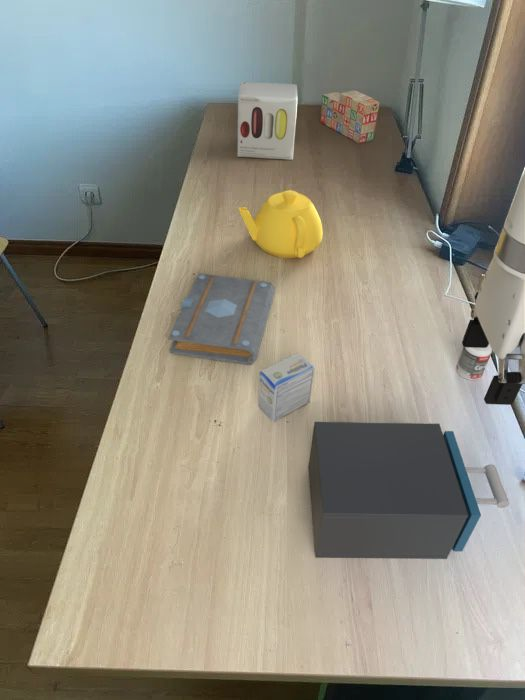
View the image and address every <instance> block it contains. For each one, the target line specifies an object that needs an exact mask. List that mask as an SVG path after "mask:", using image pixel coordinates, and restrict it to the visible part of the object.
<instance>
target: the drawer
mask: <svg viewBox="0 0 525 700" xmlns="http://www.w3.org/2000/svg"><path fill="white" fill-rule="evenodd" d="M443 437H444V440H445V443H446V446H447V449H448V453H449V456H450V459H451V462H452V465H453V468H454V472H455V475H456V478H457V481H458V484H459V488H460V491H461V494H462V497H463V500H464V503H465V507H466V510H467V513H468V517H467V519H466V521H465V523H464V525H463V527H462V529H461V531H460V533H459V535H458V537H457V539H456V541H455V543H454V545H453V547H452V551H453V552H463V551H464V548H465V547H466V545H467V543H468V542H469V539H470V538H471V535H472V534H473V532H474V530H475V528H476V526H477V524H478V522H479V520H480V518H481V517H482V514H481V511H480V508H479V505H496V507H497V508H500V509H505V508H507V507H509V506H510V501H509V497H508V495H507V493H506V490H505V488H504V485H503V482H502V480H501V478H500V474H499V472H498V469H497V466H496V465H495V464H493V463H489V464H486V465H485V466H483V467H482V466H480V467H479V466H478V467H477V466H476V467H475V466H473V467H472V466H465V463H464V459H463V457H462V454H461V450H460V447H459V444H458V442H457V439H456V435H455V433H454V431H453V430H444V432H443ZM468 474H485V477H486V480H487V483H488V485H489V489H490V490H491V493H492V494H491V495H492V496H493V498H491V497H489V498H488V497H476V495H475V493H474V490H473V486H472V484H471V481H470V478H469V475H468Z"/></svg>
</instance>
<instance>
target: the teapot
mask: <svg viewBox="0 0 525 700" xmlns="http://www.w3.org/2000/svg"><path fill="white" fill-rule="evenodd" d="M238 212H239V213H240V216H241V218H242V220H243V222H244V225H245V226H246V229H247V231H248V233H249V235H250V237H251V240H252V241H254V242H255V243H256V245H257V246H258V247H259V248H260V249H261V250H262V251H263V252H265V253H267V254H268V255H271V256H273V257H277V258H282V259H283V258H284V259H293V258H298V259H302V258H304V257H305V256H306V255H309V254H310V253H311V252H313V251H314V250H315V249H316V248H318V247H319V245H320V244H321V242H322V241H323V225H322V224H323V223H322V221H321V217H320V215H319V213H318V211H317V209H316V207H315V205H314V203H313V202H312V201H311V199H310V198H309V197H308V196H306V195H304V194H302V193H299V192H297V191H295V190H291V189H289V190H284V191H281V192H276V193H274V194H272V195H270V196H269V197H268V198H267V199H266V201H265V202H264V203H263V204H262V206H261V207H260V208H259V210H258V211H257V214H256V216H255V218H254V217H253V216H252V214H251V213H250V210H248V206H242V207H241V206H240V207H238Z"/></svg>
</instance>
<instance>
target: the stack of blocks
mask: <svg viewBox="0 0 525 700" xmlns="http://www.w3.org/2000/svg"><path fill="white" fill-rule="evenodd" d="M380 102H381V101H379V100H376V99H374V98H373V97H371V96H369V95H366V94H365V93H362V92H359V91H357V90H355V89H354V90H349V91H344V92H339V91H334V92H330V93H324V94H322V97H321V109H320V110H321V111H320V121H319V122H320V123H322V124H324V125H325V126H327V127H328V128H330V129H331V130H333V131H335V132H337V133H339V134H341V135H343V136H344V137H346V138H348V139H350V140H351V141H353V142H355V143H356V144H358V145H361V144H364V143H368V142H372V141H374V139H375V133H376V125H377V120H378V115H379V109H380Z"/></svg>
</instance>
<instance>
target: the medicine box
mask: <svg viewBox="0 0 525 700" xmlns="http://www.w3.org/2000/svg"><path fill="white" fill-rule="evenodd" d="M314 374H315V366H314V365H312V364H311V363H310V361H308V360H307V359H306V358H305V357H304V356H302V355H301V354H300V353H298V352H296V353H294V354H292V355H290V356H288V357H286V358H284V359H281V360H280V361H278V362H275V363H274V364H271V365H270V366H267V367H266V368H263V369H262V370H260V371H259V381H258V385H259V386H258V407H259V408H260V410H261V411H262V412H263V413H264V414H265V415H266V416H267V417H268V418H269V420H271V422H273V423H275V422H277V421H278V420H280V419H282V418H284V417H286V416H287V415H289V414H292V413H293V412H295V411H296V410H298V409H300V408H301V407H303V406H305V405H307V404H309V403H310V402H311V396H312V388H313V381H314Z"/></svg>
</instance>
